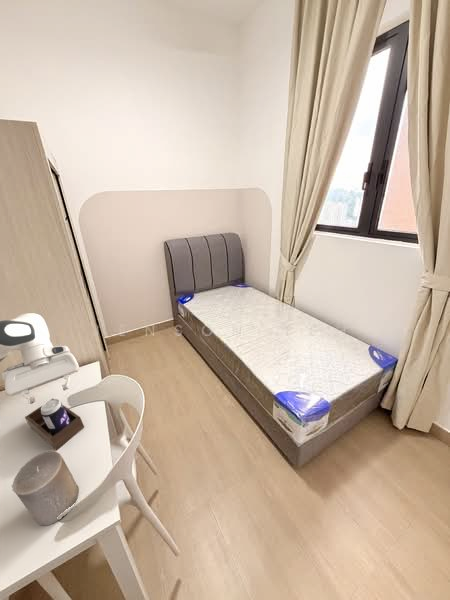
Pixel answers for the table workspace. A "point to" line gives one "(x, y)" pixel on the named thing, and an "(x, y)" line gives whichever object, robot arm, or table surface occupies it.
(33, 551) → the table surface
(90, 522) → the table surface
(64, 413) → the beverage can
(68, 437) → the dark brown divided box
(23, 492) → the pillar candle
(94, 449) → the table surface
